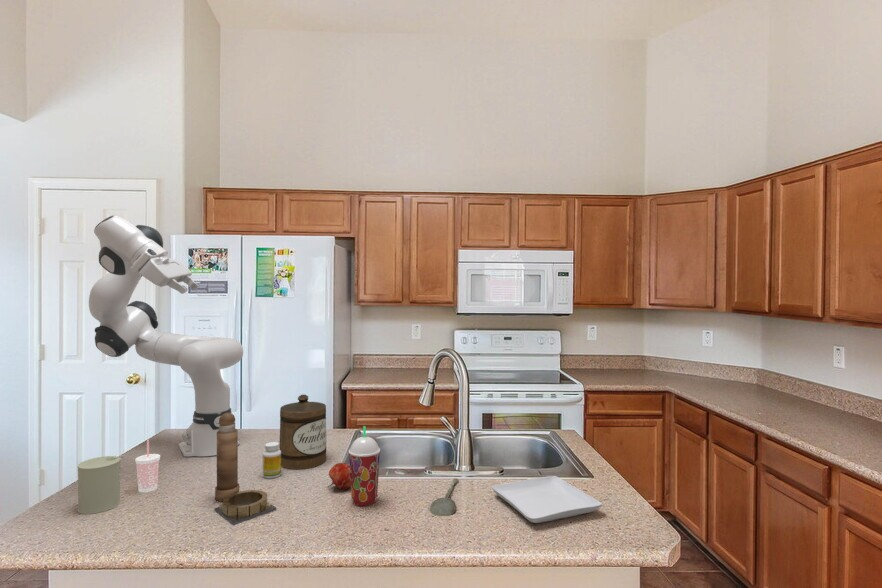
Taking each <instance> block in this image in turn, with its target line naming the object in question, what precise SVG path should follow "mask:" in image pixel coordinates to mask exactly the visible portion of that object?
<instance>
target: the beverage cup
mask: <svg viewBox="0 0 882 588" xmlns="http://www.w3.org/2000/svg"><path fill="white" fill-rule="evenodd" d="M160 459H161V454H159V453H150V439H146V454H143V455H139V456H137V457H136V458H135V459H134V461H135V464H136V474H137V475H136V476H137V490H138V492H139V493H150V492H152V491H156V490H157V489H158V483H159V482H158V481H159V468H160Z"/></svg>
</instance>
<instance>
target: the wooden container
mask: <svg viewBox="0 0 882 588" xmlns="http://www.w3.org/2000/svg"><path fill="white" fill-rule="evenodd" d="M297 400H298V401H296V402H291V403H287V404H284V405H282V406H280V409H279V417H280V419H279V448H278V449H279V450H280V451H281V468H284V469H289V470H307V469H312V468H315V467H318V466H320V465H322V464H324V463H325V462H326V460H327V405H326V404H325V403H323V402H318V401H309V396H308V395H307V394H300V395H299V396H297ZM306 468H307V469H306Z"/></svg>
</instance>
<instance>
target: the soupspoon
mask: <svg viewBox="0 0 882 588" xmlns="http://www.w3.org/2000/svg"><path fill="white" fill-rule="evenodd" d="M459 482H460V480H459V479H458V478H457V477H456V478H453V479H452V483H451V484H450V486H449V487H448V490H447V492H446V494H445V496H444V497H440V498H436V499H435V500H433V501H432V502H431V503H430V508H429V511H430V513H431V514H432V515H434V516H437V517H449V516H453V514H454V513H455V512H456V508H457V504H456V502H455V501H454V500H453V499H451V498H449V496H450V494H451V492H452V489H453V487H454V486H455V485H456V484H459Z"/></svg>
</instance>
